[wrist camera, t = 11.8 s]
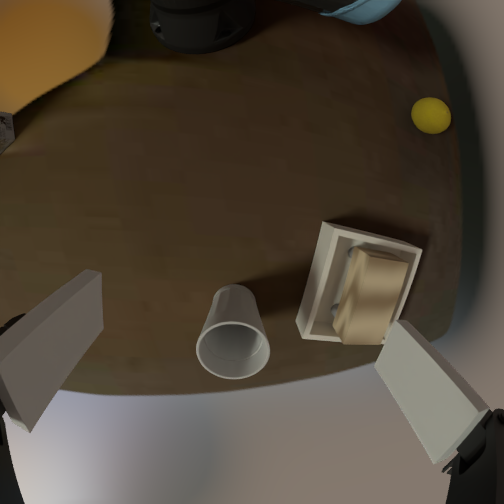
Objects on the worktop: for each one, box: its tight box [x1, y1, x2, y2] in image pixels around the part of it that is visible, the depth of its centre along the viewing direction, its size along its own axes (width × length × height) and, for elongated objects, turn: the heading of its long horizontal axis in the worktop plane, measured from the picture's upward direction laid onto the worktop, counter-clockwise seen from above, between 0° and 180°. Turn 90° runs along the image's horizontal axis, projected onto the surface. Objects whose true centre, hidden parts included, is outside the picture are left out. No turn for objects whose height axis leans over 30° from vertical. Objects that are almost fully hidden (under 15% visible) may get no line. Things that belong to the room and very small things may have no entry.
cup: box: [196, 284, 270, 379], centre depth 34 cm, size 8×8×12 cm
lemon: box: [411, 97, 451, 134], centre depth 29 cm, size 6×6×8 cm
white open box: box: [296, 221, 422, 344], centre depth 37 cm, size 16×15×5 cm
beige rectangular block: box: [332, 246, 409, 345], centre depth 34 cm, size 12×6×5 cm, turn 171°
